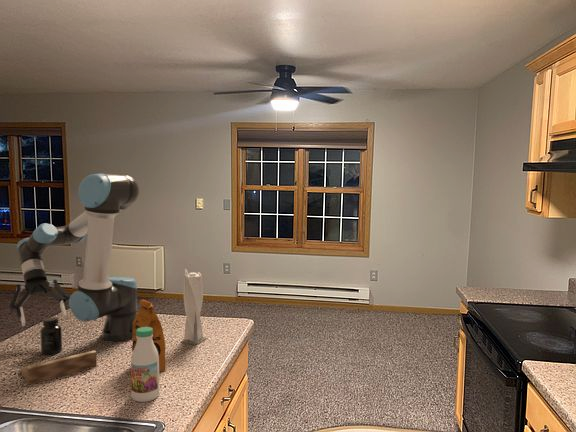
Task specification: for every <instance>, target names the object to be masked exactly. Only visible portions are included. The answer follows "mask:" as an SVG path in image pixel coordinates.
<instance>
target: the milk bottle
mask: <svg viewBox="0 0 576 432" xmlns="http://www.w3.org/2000/svg"><path fill="white" fill-rule="evenodd" d="M152 336H153V329H152V328H151V327H141V328H138V329H137V330H136V338H137V343H136V346H135V348H134V350H133V352H132V353H131V359H130V360H131V362H130V378H131V380H130V383H131V384H130V385H131V386H130V387H131V388H130V389H131V390H130V391H131V398H132V400H133V401H135V402H139V403H145V402H151V401H153V400H155V399H157V398H158V397H159V395H160V372H159V356H158V351H157V349H156V347H155V345H154V343H153V340H152Z"/></svg>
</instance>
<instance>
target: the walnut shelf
mask: <svg viewBox="0 0 576 432" xmlns="http://www.w3.org/2000/svg"><path fill="white" fill-rule="evenodd" d="M97 363H98V361H97V351H96V350H90V351H87V352H86V351H85V352H80V353H77V354H72V355H67V356H64V357H59V358H54V359H51V360H48V361H43V362H39V363H35V364H31V365H27V366H21V367H20V369H19V370H20V373H21V374H22V376H23V378H24V379H25V381H26V382H27V384H28V385H33V384H35V383H36V384H37V383H39V382H43V381H47V380H51V379H55V378H58V377H59V378H60V377H61V376H66V375H70V374H73V373H78V372H81V371H85V370H89V369H93V368H97V367H98V365H97Z"/></svg>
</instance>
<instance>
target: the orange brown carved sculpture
mask: <svg viewBox="0 0 576 432" xmlns="http://www.w3.org/2000/svg"><path fill="white" fill-rule="evenodd" d="M138 304H139V305H140V307H139V310H138V311H137V315H136V317H135V319H134V321H133V338H132V339H131V340H132V346H131V352H132V353H133V350H134V348H135V346H136V343H137V338H136V330H137V329H138V328H141V327H151V328H152V329H153V336H152V340H153V343H154V345H155V347H156V349H157V351H158V356H159V373H161V372H164V371H166V362H167V361H166V340H165V339H166V338H165V335H164V330H163V327H162V326H163V325H162V323H161V321H160V319H159V316H158V315H157V313H156V311H155V307H154V306H153V303H152V302H150V301H148V300H145V299H141V300H140V301H139V303H138Z"/></svg>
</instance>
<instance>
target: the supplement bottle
mask: <svg viewBox="0 0 576 432" xmlns="http://www.w3.org/2000/svg"><path fill="white" fill-rule="evenodd" d="M39 331H40V332H39V334H40V352H41V354H42V355H44V356H45V355H47V356H50V355H55V354H58V353H60V352H61V351H63V330H62V326H61V325H59V318H58V317H54V316H53V317H47V318H44V319H43V320H42V327H41V328H40V330H39Z"/></svg>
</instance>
